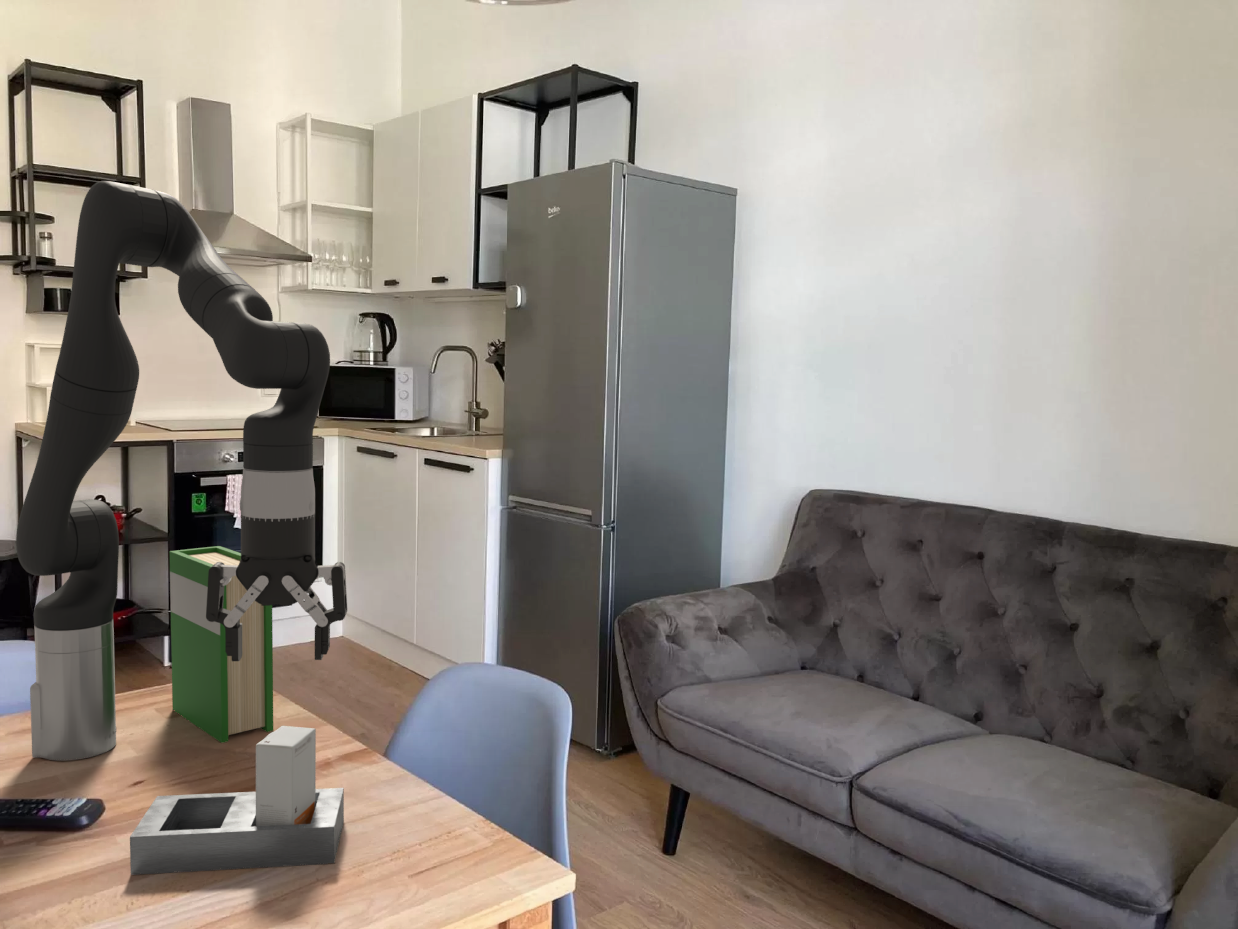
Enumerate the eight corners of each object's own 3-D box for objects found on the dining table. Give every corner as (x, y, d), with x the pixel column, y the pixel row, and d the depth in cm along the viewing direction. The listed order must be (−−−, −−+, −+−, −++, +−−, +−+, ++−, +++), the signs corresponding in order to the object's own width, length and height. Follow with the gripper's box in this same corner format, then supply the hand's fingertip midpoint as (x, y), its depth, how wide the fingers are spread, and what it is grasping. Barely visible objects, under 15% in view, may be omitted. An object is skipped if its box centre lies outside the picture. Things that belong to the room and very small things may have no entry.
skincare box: (292, 857, 108) (292, 747, 107) (254, 854, 109) (253, 744, 108) (317, 832, 114) (317, 727, 113) (281, 828, 115) (280, 724, 114)
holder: (130, 875, 104) (129, 837, 104) (157, 830, 114) (157, 796, 114) (334, 863, 107) (334, 826, 107) (343, 821, 117) (343, 788, 117)
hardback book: (273, 730, 146) (271, 563, 143) (221, 743, 141) (219, 570, 138) (221, 700, 158) (219, 546, 156) (172, 710, 153) (169, 551, 151)
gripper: (350, 506, 114) (349, 648, 116) (216, 504, 112) (216, 650, 114) (343, 516, 107) (342, 668, 109) (199, 515, 105) (200, 670, 106)
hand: (278, 658), depth 111 cm, fingers open, 8 cm apart
